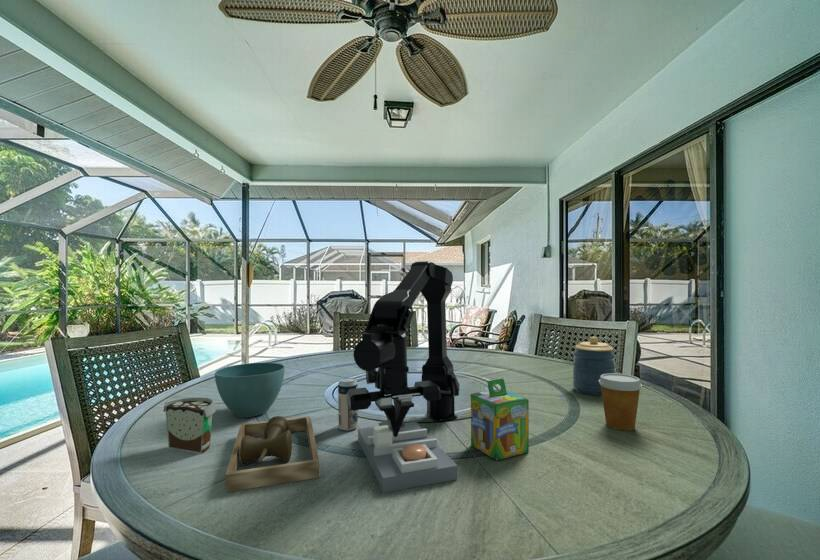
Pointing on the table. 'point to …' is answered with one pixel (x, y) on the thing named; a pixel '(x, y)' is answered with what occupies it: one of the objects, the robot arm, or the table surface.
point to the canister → (592, 365)
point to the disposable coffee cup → (620, 400)
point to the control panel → (412, 473)
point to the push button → (413, 452)
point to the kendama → (268, 442)
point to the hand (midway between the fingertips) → (394, 436)
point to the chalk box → (499, 422)
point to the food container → (189, 423)
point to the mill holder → (276, 472)
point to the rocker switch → (388, 424)
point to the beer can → (346, 405)
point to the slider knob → (382, 435)
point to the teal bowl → (250, 387)
